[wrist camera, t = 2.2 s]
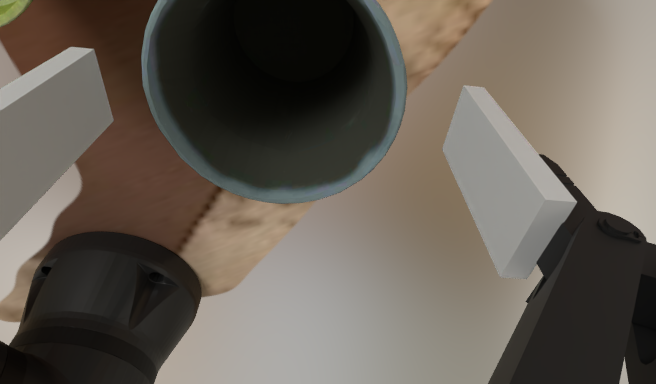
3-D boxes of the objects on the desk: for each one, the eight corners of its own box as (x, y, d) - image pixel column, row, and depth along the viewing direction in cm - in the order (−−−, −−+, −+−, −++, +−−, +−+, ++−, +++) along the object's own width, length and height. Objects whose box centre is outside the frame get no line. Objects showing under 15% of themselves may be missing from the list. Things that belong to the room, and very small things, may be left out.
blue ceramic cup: (335, 117, 28) (342, 229, 19) (197, 66, 26) (125, 164, 16) (403, -27, 22) (463, 27, 13) (234, -112, 20) (157, -121, 10)
